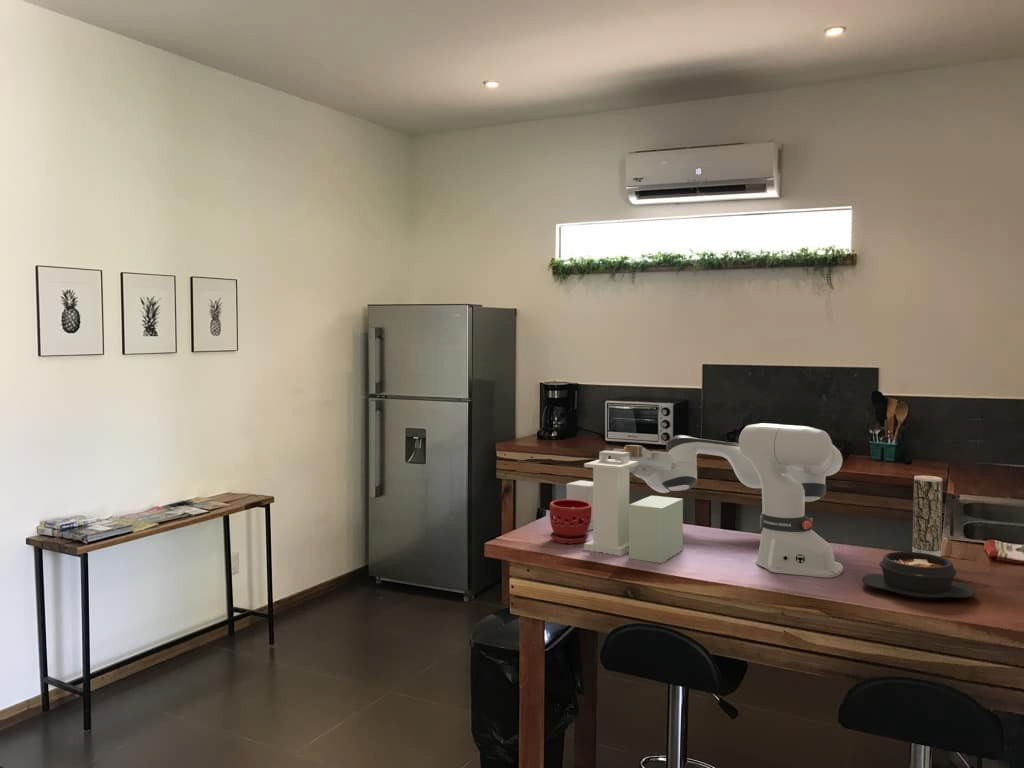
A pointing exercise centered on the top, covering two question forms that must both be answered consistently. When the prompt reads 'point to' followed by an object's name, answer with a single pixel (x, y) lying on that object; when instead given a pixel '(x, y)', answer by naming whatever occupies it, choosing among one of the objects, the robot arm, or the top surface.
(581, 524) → the plant pot
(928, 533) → the bark pattern canister
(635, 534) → the pale green box
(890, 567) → the casserole
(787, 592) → the top surface
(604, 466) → the tall stand
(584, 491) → the supplement box
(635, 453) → the brown block with handle
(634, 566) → the top surface
